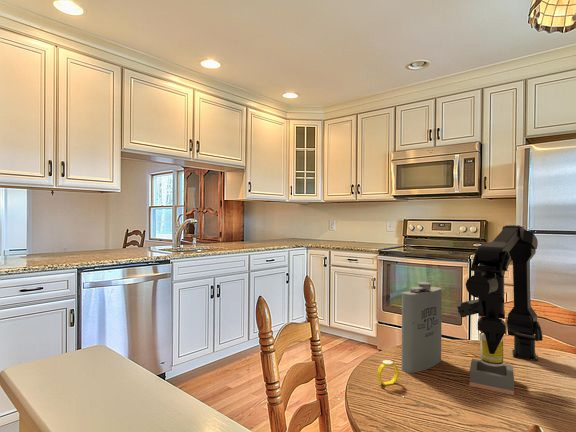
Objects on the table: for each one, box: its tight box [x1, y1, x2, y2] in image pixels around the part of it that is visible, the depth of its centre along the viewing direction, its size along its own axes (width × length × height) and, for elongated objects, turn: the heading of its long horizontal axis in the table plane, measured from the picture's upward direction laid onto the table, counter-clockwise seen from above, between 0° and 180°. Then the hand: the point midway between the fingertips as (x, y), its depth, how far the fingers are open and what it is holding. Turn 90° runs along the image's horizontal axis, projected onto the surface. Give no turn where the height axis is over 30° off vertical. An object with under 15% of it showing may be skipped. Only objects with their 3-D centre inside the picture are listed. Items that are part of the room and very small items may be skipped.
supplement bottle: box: [479, 332, 504, 367], centre depth 99 cm, size 5×5×10 cm
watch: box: [376, 359, 399, 386], centre depth 97 cm, size 6×3×6 cm, turn 111°
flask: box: [400, 281, 443, 374], centre depth 110 cm, size 17×5×25 cm, turn 128°
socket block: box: [469, 357, 515, 396], centre depth 98 cm, size 10×10×4 cm
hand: (491, 350), depth 99 cm, fingers closed on supplement bottle, 5 cm apart
